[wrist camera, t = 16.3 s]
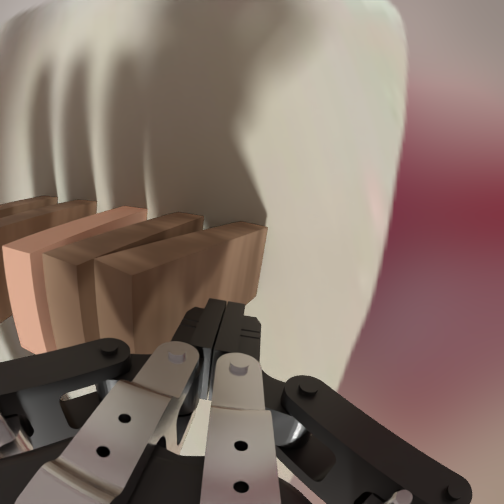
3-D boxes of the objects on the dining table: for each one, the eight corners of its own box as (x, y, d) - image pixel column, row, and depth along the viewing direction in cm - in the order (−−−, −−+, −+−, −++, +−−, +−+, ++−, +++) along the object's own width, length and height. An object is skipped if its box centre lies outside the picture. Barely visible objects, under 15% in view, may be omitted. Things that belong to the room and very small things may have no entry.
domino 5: (231, 288, 21) (105, 370, 10) (240, 221, 20) (93, 258, 9) (256, 296, 20) (139, 393, 9) (267, 227, 19) (131, 275, 8)
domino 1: (43, 249, 21) (-53, 297, 9) (43, 195, 20) (-65, 222, 8) (58, 253, 21) (-42, 305, 9) (57, 197, 20) (-55, 225, 8)
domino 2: (78, 257, 21) (-25, 317, 9) (78, 199, 20) (-40, 230, 8) (95, 261, 21) (-8, 328, 9) (96, 201, 20) (-25, 235, 8)
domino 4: (172, 277, 21) (60, 362, 10) (177, 211, 20) (42, 253, 8) (197, 283, 21) (92, 381, 9) (204, 216, 19) (76, 265, 8)
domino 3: (121, 268, 21) (21, 346, 9) (124, 205, 20) (2, 245, 8) (144, 273, 21) (49, 360, 9) (147, 209, 20) (29, 253, 8)
